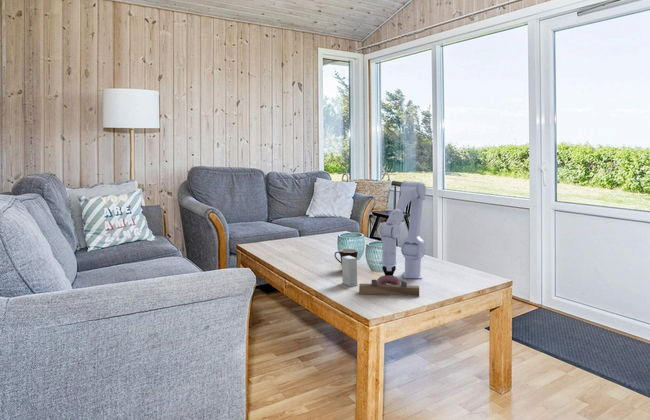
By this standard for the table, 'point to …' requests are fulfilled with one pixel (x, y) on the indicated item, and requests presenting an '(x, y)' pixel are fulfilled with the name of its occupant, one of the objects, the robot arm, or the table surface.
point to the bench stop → (389, 289)
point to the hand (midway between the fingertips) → (388, 283)
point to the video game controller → (389, 280)
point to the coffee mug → (347, 253)
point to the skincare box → (349, 270)
